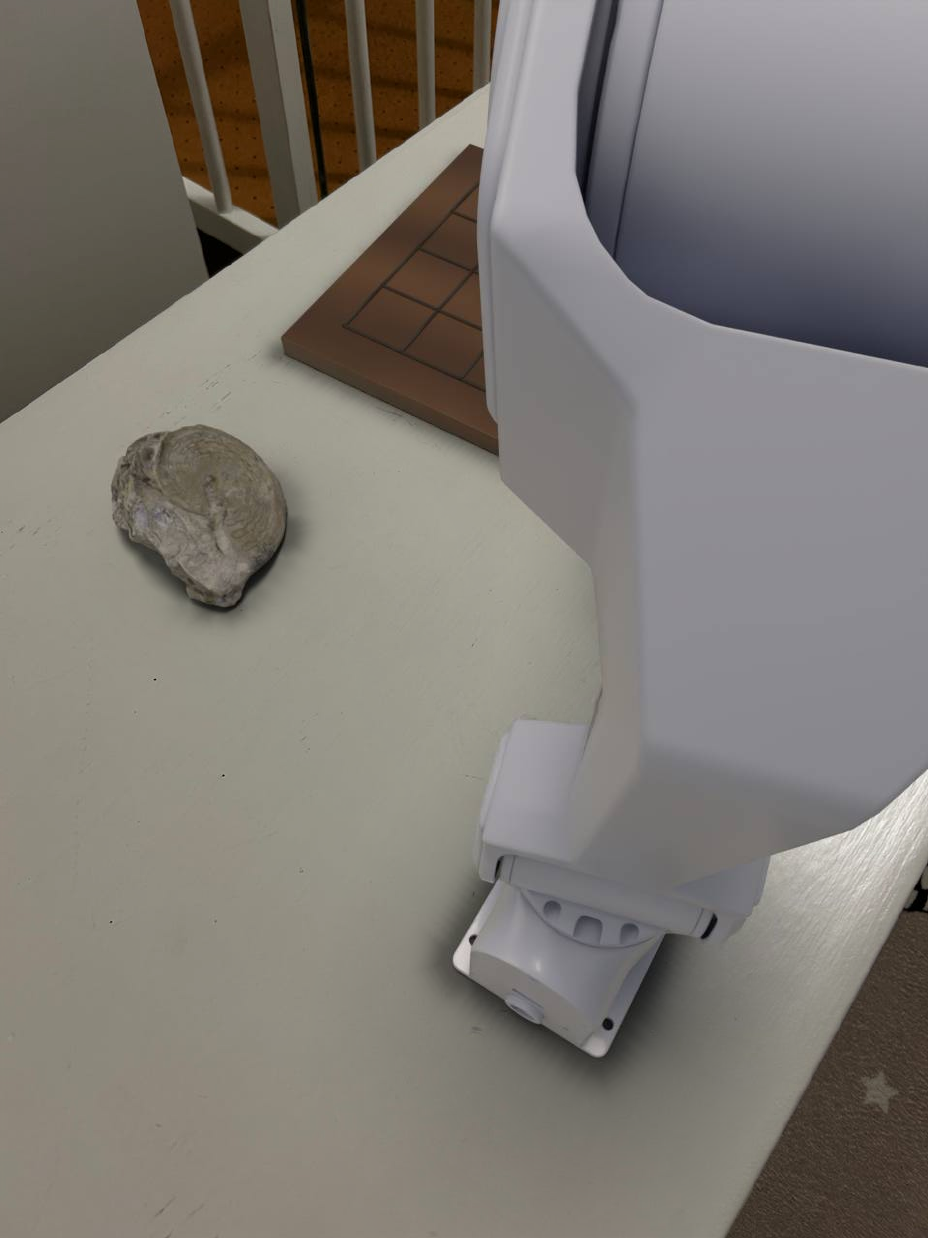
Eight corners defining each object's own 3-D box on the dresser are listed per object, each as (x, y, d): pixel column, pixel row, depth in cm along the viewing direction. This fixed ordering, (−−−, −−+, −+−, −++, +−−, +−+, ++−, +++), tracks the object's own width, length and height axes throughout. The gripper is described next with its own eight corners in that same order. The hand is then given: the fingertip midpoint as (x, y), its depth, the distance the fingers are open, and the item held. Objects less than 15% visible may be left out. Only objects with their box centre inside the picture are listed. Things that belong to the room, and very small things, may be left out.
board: (603, 505, 59) (607, 489, 57) (283, 353, 65) (279, 335, 63) (758, 273, 69) (764, 254, 68) (469, 160, 75) (469, 141, 74)
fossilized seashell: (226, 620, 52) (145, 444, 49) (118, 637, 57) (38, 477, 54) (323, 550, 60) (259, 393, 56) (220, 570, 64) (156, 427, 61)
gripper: (800, 349, 34) (711, 564, 45) (931, 130, 40) (823, 369, 52) (617, 275, 35) (577, 500, 47) (770, 76, 42) (701, 319, 53)
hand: (697, 428), depth 49 cm, fingers open, 7 cm apart
